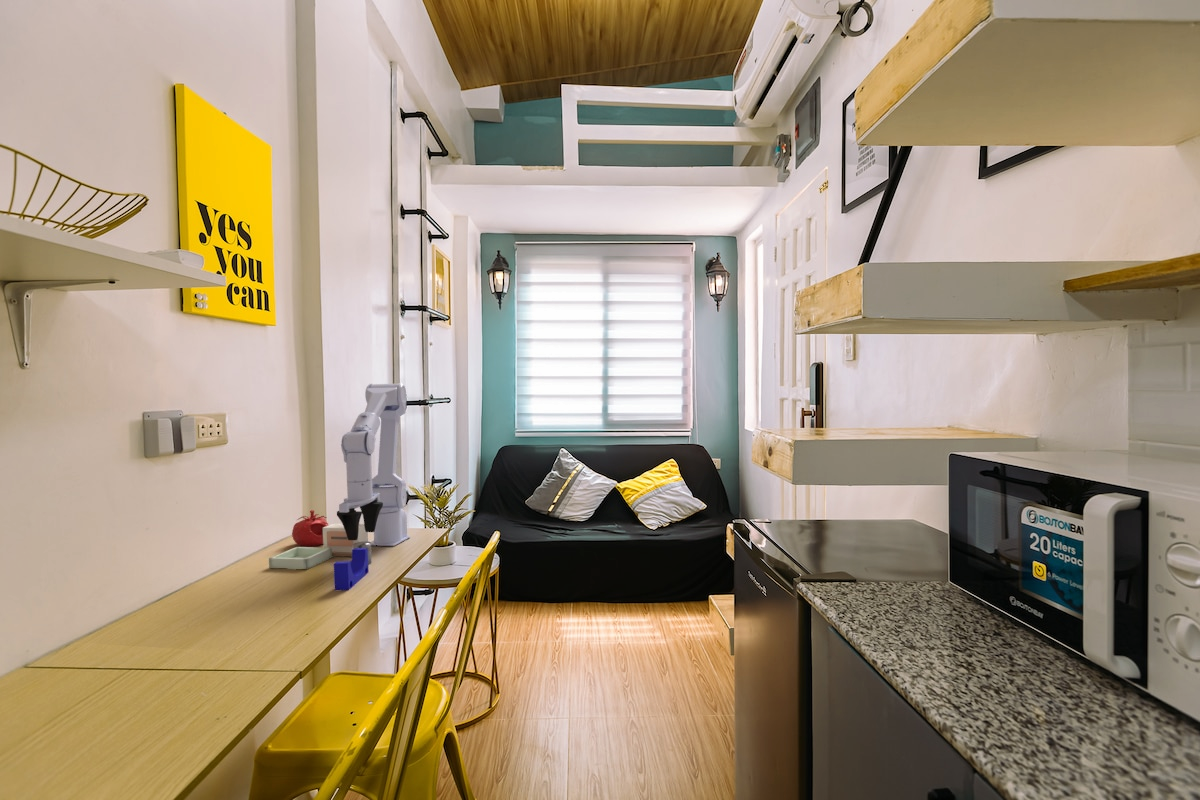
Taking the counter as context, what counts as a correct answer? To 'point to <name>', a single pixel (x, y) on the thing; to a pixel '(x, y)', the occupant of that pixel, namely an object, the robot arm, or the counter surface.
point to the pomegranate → (309, 530)
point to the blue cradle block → (351, 569)
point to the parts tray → (300, 558)
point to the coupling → (364, 545)
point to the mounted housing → (341, 539)
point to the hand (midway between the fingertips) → (361, 535)
